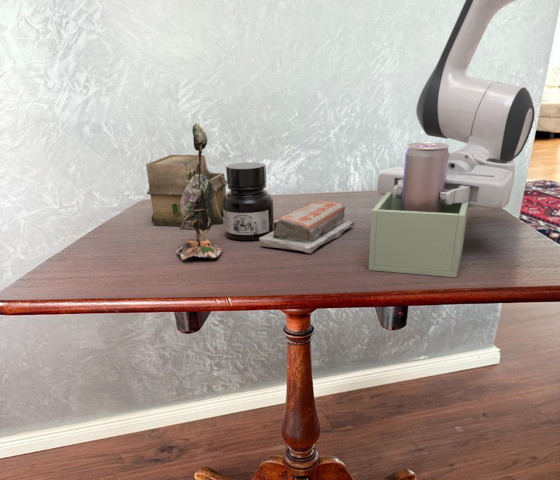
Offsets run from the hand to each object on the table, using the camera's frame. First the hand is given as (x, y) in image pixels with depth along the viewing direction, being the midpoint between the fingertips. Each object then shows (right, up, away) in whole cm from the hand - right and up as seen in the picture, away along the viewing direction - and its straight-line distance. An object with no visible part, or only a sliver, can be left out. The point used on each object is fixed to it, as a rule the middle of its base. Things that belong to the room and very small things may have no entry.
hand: (420, 195), depth 78 cm
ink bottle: (-26, -1, +21) cm, 33 cm away
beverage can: (+1, -7, +5) cm, 9 cm away
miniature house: (-38, +5, +31) cm, 50 cm away
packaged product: (-15, -2, +18) cm, 24 cm away
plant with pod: (-34, -6, +12) cm, 36 cm away
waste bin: (+1, -8, +6) cm, 10 cm away
